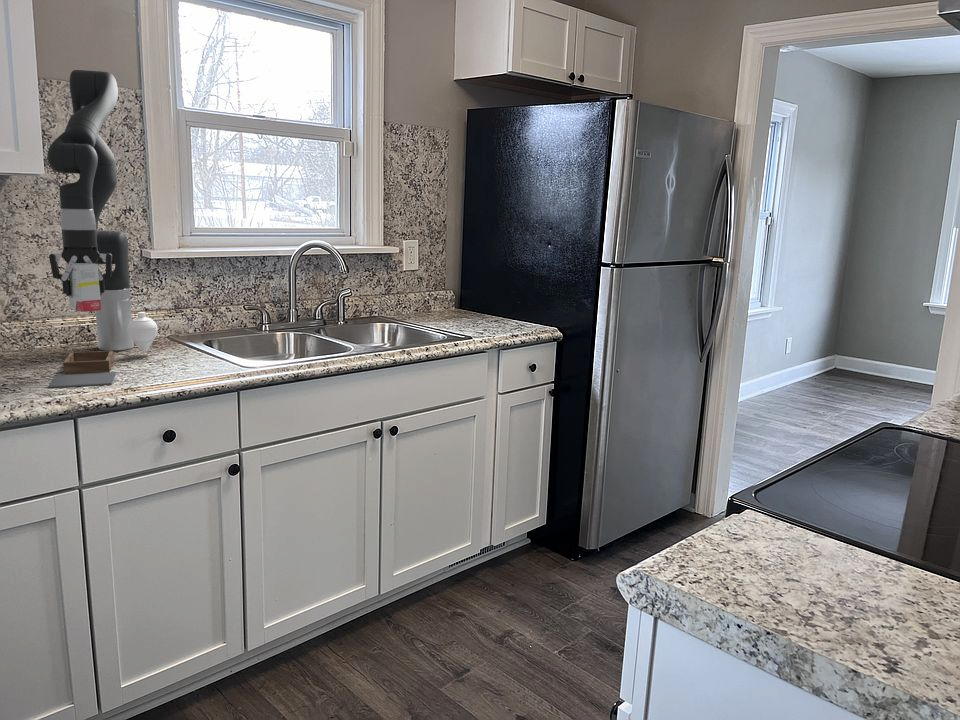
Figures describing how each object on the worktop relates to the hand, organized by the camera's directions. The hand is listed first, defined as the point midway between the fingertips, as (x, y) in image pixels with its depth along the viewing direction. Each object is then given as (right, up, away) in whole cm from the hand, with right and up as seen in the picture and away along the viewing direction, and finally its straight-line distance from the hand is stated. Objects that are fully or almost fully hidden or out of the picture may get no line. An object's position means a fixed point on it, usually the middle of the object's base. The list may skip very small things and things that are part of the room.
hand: (84, 295), depth 188 cm
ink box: (0, -4, +1) cm, 4 cm away
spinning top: (+6, -15, +21) cm, 26 cm away
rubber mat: (+4, -21, -9) cm, 23 cm away
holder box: (-1, -18, +4) cm, 19 cm away
